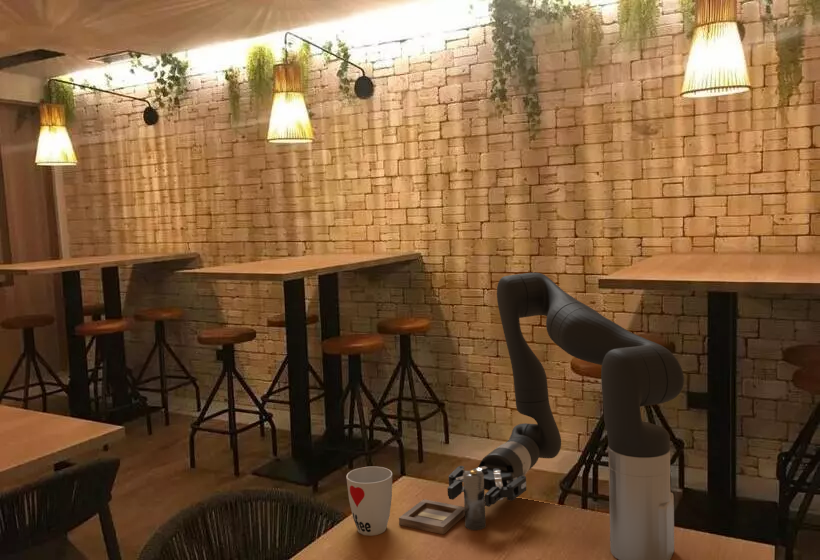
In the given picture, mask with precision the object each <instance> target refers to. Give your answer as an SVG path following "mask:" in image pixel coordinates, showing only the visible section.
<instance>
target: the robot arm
mask: <svg viewBox="0 0 820 560" xmlns="http://www.w3.org/2000/svg"><path fill="white" fill-rule="evenodd" d="M496 300H497V301H496V302H497V307H498V311H499V316H500V322H501V326H502V329H503V334H504V339H505V343H506V347H507V351H508V355H509V356H508V357H509V360H510V364H511V371H512V377H513V378H512V379H513V386H514V387H513V388H514V397H515V398H514V399H515V407H516V410H517V413H519V414H521V415H522V416H527V417H530V418H532V419H534V421H535V422H536V423H525V422H524V423H519V424H517V425H515V426H514V427H513V428H512V431H511V434H510V436H509V439H508V440H507V441H506V442H504V443H502V444H500V445H499V446H497V447H495V448H494V449H493V450H492V451H490V452H489V453H488V454H487V455H484V457H483V458H482V459H481V460H480V463H479V465H478V466H477V467H476V468H472V469H471V470H477V471H481V472H483V473H484V491H485V490H487V492H485V493H484V496H485V507H491V506H492V505H495V504H496V503H497V502H498V501H503V500H504V498H506V499H507V500H508V501H509V502H510V501H511V502H512V501H514V500H515V499H517V498H518V497H520V495H522V494H524V493H525V492H526V491H527V476H526V474H527V473H528V472H529V471H530V470H531V469H532V468H533V467H534V466H535V465H536V464H537V463H538V460H539V458H540V459H554V458H555V457H557V456H558V455H559V453H560V451H561V448H562V438H561V434H560V430H559V427H558V426H557V422H556V419H555V418H554V415H553V412H552V409H551V406H550V398H549V389H548V386H549V385H548V378H547V373H546V371H545V368H544V366H543V364H542V362H541V361H540V360H539V358H538V357H537V354H535V353H534V351H533V350H532V349H531V347H530V346H529V344H528V343H527V341H526V339H525V337H524V334H523V332H522V329H521V324H520V323H521V322H520V319H522V318H523V319H524V318H529V317H536V316H544V317H546V321H545V324H546V325H545V326H546V327H545V329H546V331H547V334H548V337H549V338H550V339H551V341H552V342H553V343H554V344H555V345H557V347H559V349H561V350H562V351H564V352H565V353H566V354H568V355H570V356H572V357H573V358H576V359H578V360H581V361H585V362H587V363H590V364H591V363H592V364H595V365H598V366H599V365H600V366H601V373H600V374H601V375H600V377H601V392H602V403H603V404H602V405H603V420H604V426H605V431H606V434H607V446H608V448H607V449H608V491H609V492H608V494H609V497H608V499H609V502H608V503H609V504H608V505H609V542H610V543H609V546H610V553H611V554H612V556H613V557H614V558H615V559H617V560H671V559H672V557H673V554H674V552H675V501H674V500H675V499H674V493H673V492H671V489H672V488H671V439H670V437H671V436H670V433H669V432H668V430H666V429H665V428H664V427H663V426H661V425H658V424H654V423H651V422H647V421H643V419H642V412H641V411H642V410H641V407H645V406H654V405H660V404H664V403H666V402H667V403H668V402H670V401H672V400H675V399H676V398H677V397H678V396H679V395H680V394H681V392H682V391H683V388H684V384H685V375H684V371H683V368H682V365H681V364H680V361H679V360H678V359H677V357H676V355H674V354H673V352H671V351H670V350H669V349H668V348H666V347H664V346H663V345H661V344H659V343H657V342H655V341H652V340H649V339H647V338H645V337H642V336H640V335H638V334H635V333H634V332H631V331H629V330H627V329H626V328H624V327H622V326H621V325H619V324H618V323H615V322H614V321H612V320H611V319H610V318H607V317H605V316H604V315H602V314H601V313H599V312H598V311H597V310H595V309H594V308H592V307H590V306H588V305H587V304H585V303H584V302H581V301H580V300H578V299H576V298H575V297H573V296H572V295H571V294H569V293H567V292H566V291H564V289H562V288H561V287H560V286H559V285H557V284H556V283H555V282H554V281H553V280H552V279H551V278H549V277H548V276H547V275H545V274H543V273H541V272H527V273H526V272H525V273H518V274H511V275H510V274H509V275H505V276H502V277H501V278H500V279H499V280H498V282H497V286H496ZM466 471H467V470H465V466H464V465H459V466H457V467H456V468H455V469H454V470H453V471H452V472H451V473H450V474H449V475H448V486H447V497H448V499H449V500H456V498H458V496H460V495H461V494H462V493H464V482H463V473H464V472H466ZM507 500H506V501H507Z"/></svg>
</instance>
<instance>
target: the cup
mask: <svg viewBox="0 0 820 560" xmlns="http://www.w3.org/2000/svg"><path fill="white" fill-rule="evenodd" d="M346 485H347V494H348V502H349V506H350V509H351V515H352V518H353V522H354V525H355V526H356V529H357V532H358V533H359V534H360V535H362V536H377V535H380V534H383V533H384V532H385V531H386V529H387V527H388V523H389V520H390V516H391V515H390V514H391V506H392V499H393V472H392V470H390V469H388V468H387V467H383V466H365V467H359V468H355V469H352V470H350V471H348V473H347V474H346Z"/></svg>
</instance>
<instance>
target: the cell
mask: <svg viewBox="0 0 820 560" xmlns="http://www.w3.org/2000/svg"><path fill="white" fill-rule="evenodd" d="M462 483H463V486H464V492H463V500H464V501H463V503H464V506H463V507H465V516H464V525H465V528H467V529H468V530H471V531H480V530H483V529H485V528H486V525H487V524H486V506H485V490H484V473H483V472H481V471H477V470H472V469H470V470H466V472H464V473H463V482H462Z"/></svg>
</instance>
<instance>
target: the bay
mask: <svg viewBox="0 0 820 560" xmlns="http://www.w3.org/2000/svg"><path fill="white" fill-rule="evenodd" d="M463 518H465V506H460V505H456V504H451V503H446V502H440V501H436V500H429V499H426V498H424V499H423V498H422V500H420V501H419V502H418V503H416V504H415V505H414V506H412V507H411V508H410V509H409V510H407V511H406V512H404V513H403V514H402V515H400V516H399V517H398V525H399V526H403V527H408V528H412V529H416V530H422V531H426V532H431V533H434V534H435V533H436V534H440V535H445V534H446V533H447V532H448V531H449V530H450V529H451V528H453V527H454V526H455V525H456V524H457V523H459V522H460V521H461V519H463Z"/></svg>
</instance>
